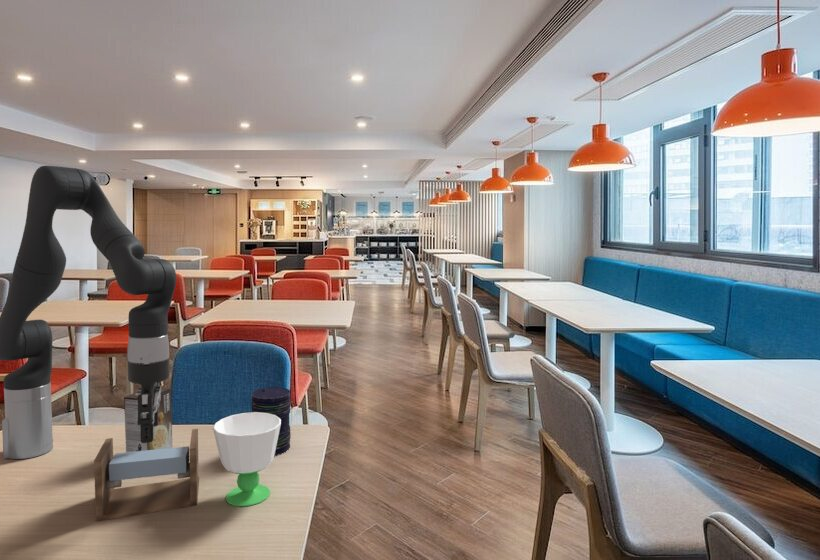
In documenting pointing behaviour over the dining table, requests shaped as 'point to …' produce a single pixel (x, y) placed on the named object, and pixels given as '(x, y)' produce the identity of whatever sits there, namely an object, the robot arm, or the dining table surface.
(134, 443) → the coffee box
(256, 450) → the cup
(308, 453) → the dining table surface
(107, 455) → the peg frame
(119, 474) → the light blue rectangular block
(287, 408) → the dark blue cylinder
